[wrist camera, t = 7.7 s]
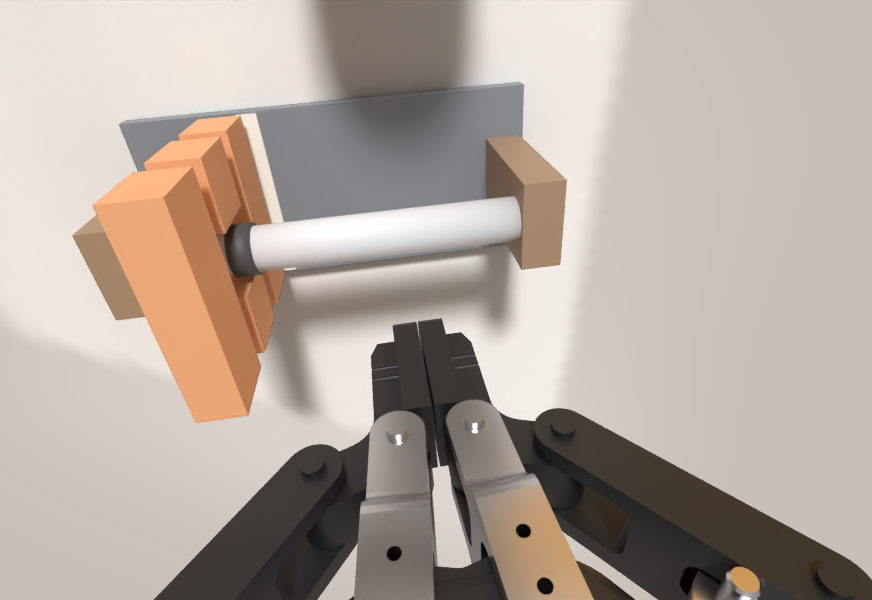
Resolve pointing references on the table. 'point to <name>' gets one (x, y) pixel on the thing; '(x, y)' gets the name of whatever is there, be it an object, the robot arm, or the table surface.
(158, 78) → the table surface
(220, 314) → the collar
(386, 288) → the table surface
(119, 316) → the pipe stand
